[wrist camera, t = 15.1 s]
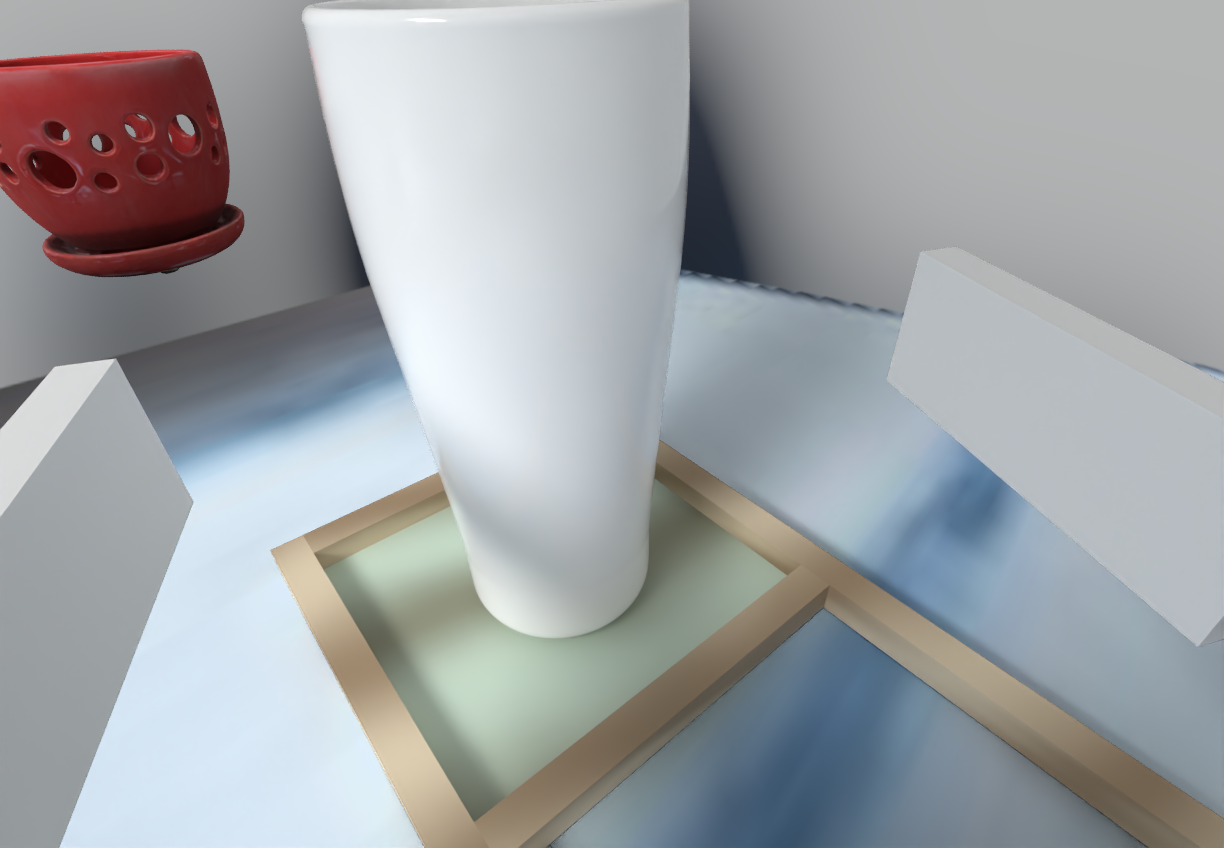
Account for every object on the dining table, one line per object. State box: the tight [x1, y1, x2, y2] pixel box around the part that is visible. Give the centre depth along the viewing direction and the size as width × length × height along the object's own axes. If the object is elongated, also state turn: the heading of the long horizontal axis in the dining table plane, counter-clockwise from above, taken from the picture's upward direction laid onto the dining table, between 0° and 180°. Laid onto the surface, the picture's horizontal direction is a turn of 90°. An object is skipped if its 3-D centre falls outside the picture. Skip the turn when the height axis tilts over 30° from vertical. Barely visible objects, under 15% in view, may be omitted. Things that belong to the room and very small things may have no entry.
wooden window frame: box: [270, 440, 1224, 848], centre depth 16 cm, size 23×13×1 cm, turn 39°
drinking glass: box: [302, 0, 690, 639], centre depth 16 cm, size 7×7×15 cm
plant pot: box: [0, 50, 244, 277], centre depth 41 cm, size 13×13×12 cm
